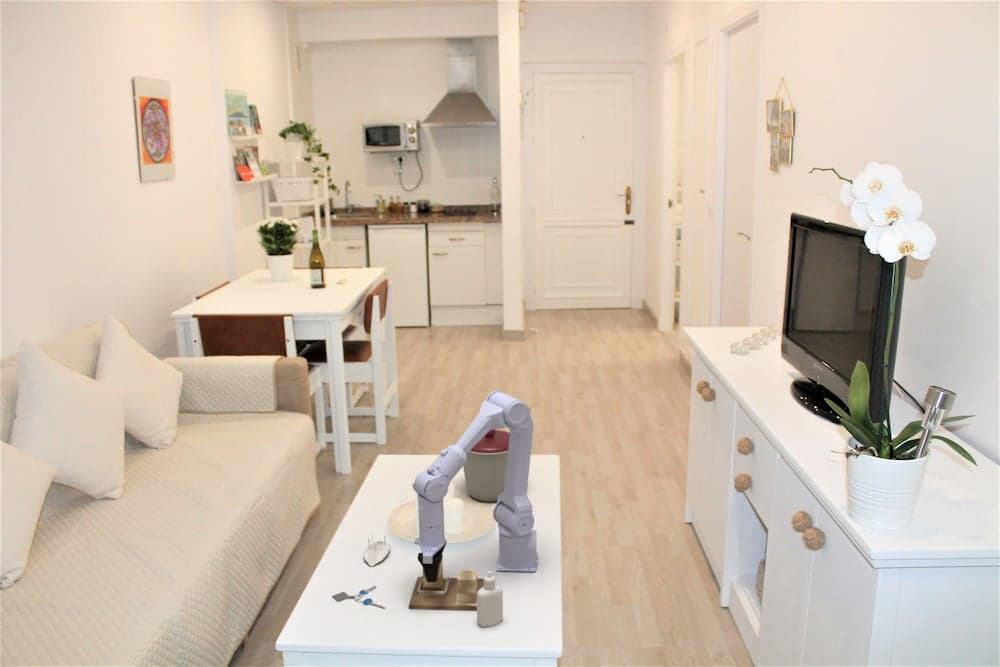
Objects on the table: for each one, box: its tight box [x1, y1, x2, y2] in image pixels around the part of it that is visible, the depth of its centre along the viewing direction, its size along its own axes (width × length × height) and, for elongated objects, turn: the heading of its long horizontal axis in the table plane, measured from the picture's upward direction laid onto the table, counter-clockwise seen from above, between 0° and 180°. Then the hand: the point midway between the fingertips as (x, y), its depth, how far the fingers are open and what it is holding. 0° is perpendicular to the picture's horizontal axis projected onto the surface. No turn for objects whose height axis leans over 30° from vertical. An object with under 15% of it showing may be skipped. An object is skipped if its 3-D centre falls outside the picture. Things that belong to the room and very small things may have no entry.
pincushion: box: [363, 534, 391, 567], centre depth 210 cm, size 12×6×6 cm, turn 174°
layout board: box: [408, 569, 484, 612], centre depth 191 cm, size 16×12×7 cm
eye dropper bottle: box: [476, 570, 504, 628], centre depth 180 cm, size 4×6×12 cm
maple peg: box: [422, 559, 444, 587], centre depth 193 cm, size 4×4×6 cm
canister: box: [462, 429, 510, 503], centre depth 243 cm, size 18×18×21 cm
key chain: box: [331, 585, 386, 609], centre depth 193 cm, size 14×8×1 cm, turn 75°
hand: (433, 576), depth 193 cm, fingers closed on maple peg, 4 cm apart
